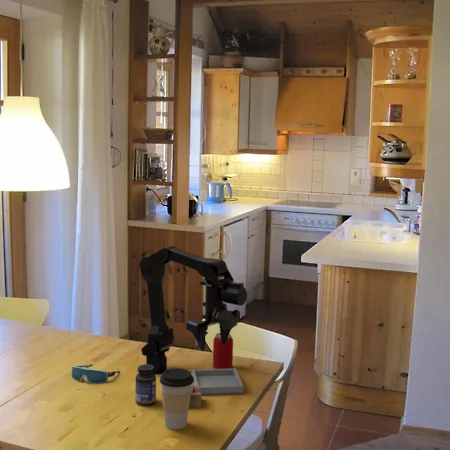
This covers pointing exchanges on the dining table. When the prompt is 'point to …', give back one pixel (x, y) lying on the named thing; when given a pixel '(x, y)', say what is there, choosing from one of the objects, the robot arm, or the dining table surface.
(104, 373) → the sunglasses
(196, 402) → the wooden frame block
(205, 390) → the tray
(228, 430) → the dining table surface
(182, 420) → the coffee cup
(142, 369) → the pill bottle
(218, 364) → the beverage can
